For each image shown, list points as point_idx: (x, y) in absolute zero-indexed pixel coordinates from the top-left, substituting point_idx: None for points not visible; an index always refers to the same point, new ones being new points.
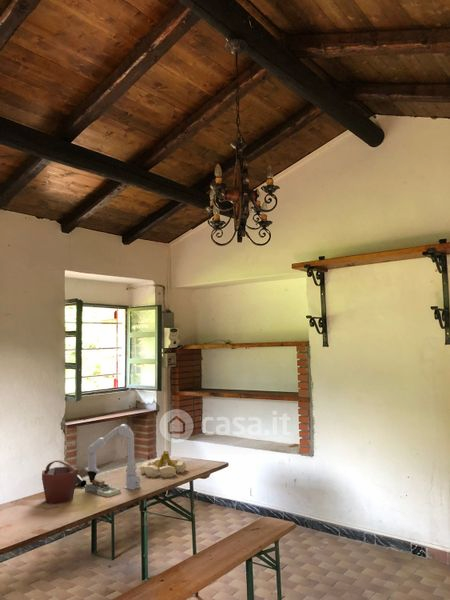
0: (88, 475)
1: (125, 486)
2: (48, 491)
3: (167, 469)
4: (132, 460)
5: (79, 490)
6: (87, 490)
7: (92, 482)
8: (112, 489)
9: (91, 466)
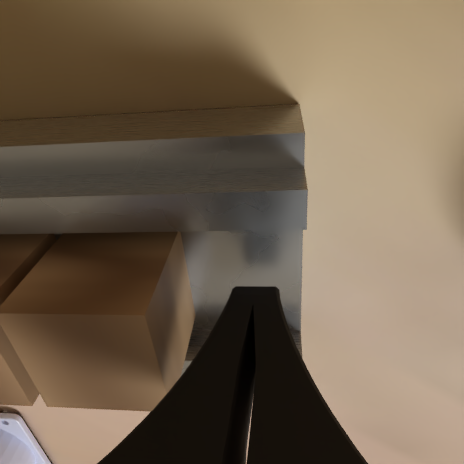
0: (323, 433)
1: (23, 434)
2: None
3: None
4: None
5: (444, 54)
6: (209, 114)
7: (141, 278)
8: None
9: None
